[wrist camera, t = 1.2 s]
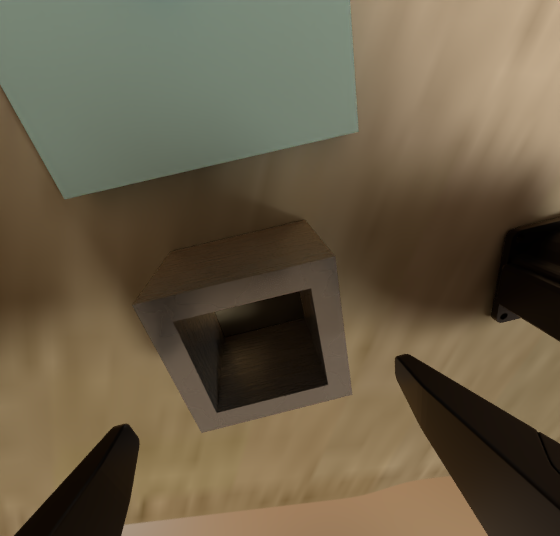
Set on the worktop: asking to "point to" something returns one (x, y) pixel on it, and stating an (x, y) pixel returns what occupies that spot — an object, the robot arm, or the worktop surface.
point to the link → (254, 344)
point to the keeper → (173, 82)
